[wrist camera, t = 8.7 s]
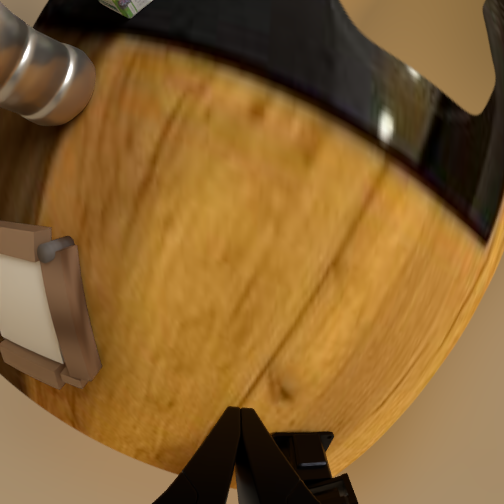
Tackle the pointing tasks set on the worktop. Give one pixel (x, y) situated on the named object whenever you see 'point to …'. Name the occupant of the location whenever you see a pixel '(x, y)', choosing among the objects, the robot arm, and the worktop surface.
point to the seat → (28, 308)
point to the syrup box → (126, 6)
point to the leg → (69, 307)
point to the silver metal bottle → (41, 74)
